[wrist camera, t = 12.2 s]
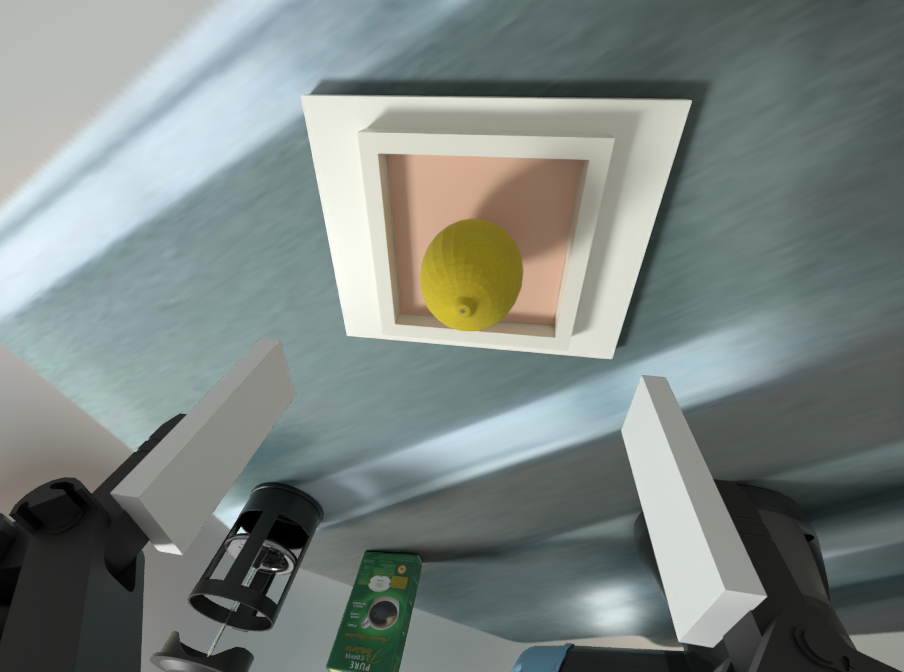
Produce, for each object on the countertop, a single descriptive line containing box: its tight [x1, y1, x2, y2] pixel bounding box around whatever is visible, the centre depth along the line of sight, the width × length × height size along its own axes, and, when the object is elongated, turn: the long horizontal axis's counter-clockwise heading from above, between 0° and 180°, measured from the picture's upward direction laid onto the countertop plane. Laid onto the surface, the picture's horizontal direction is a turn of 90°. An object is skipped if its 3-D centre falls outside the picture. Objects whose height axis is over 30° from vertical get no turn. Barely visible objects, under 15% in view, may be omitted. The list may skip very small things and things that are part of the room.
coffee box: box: [326, 551, 422, 672], centre depth 48 cm, size 8×3×13 cm, turn 101°
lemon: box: [420, 218, 523, 331], centre depth 21 cm, size 6×6×8 cm
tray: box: [301, 94, 692, 359], centre depth 24 cm, size 20×16×2 cm
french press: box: [150, 483, 323, 672], centre depth 40 cm, size 12×9×23 cm
